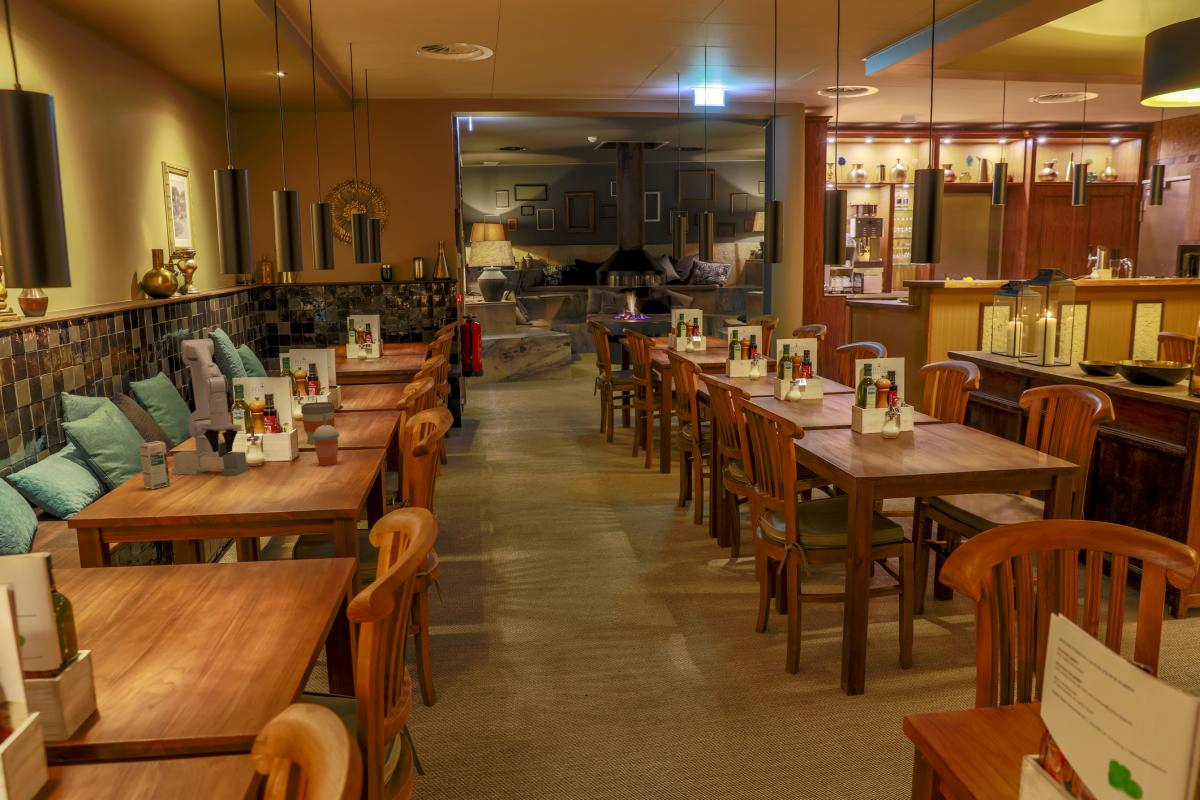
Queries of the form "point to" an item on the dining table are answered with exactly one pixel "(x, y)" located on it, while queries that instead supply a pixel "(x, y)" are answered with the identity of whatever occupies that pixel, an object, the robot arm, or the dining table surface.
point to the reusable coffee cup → (316, 417)
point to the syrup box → (154, 464)
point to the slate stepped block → (234, 463)
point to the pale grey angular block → (214, 458)
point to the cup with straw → (326, 443)
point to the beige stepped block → (188, 463)
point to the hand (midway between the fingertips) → (222, 451)
